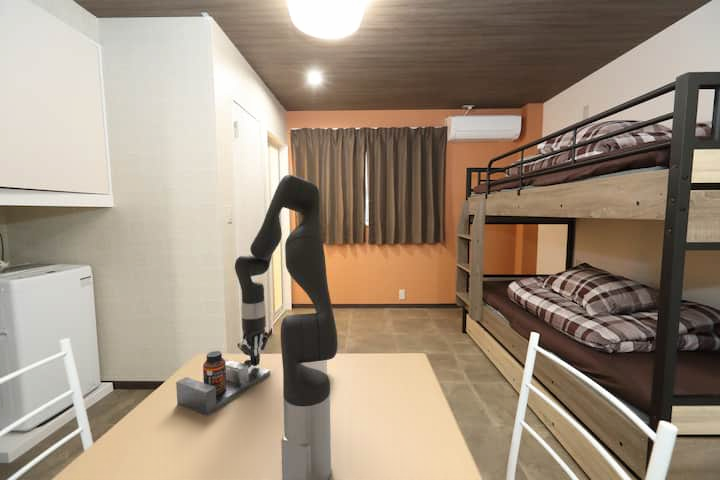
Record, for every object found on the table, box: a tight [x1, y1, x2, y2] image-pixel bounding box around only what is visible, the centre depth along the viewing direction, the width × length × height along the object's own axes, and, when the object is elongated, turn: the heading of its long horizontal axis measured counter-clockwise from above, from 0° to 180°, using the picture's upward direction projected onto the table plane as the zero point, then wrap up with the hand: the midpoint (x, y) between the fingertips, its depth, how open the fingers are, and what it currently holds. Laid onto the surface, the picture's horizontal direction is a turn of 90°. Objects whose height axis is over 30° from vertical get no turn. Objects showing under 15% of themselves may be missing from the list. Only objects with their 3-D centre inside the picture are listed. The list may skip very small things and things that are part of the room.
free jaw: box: [224, 358, 252, 385], centre depth 103 cm, size 9×9×5 cm
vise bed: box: [175, 362, 271, 417], centre depth 98 cm, size 24×12×6 cm, turn 154°
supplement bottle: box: [202, 350, 226, 395], centre depth 94 cm, size 6×6×11 cm
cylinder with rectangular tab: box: [301, 360, 328, 376], centre depth 106 cm, size 9×9×12 cm
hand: (255, 364), depth 109 cm, fingers closed
